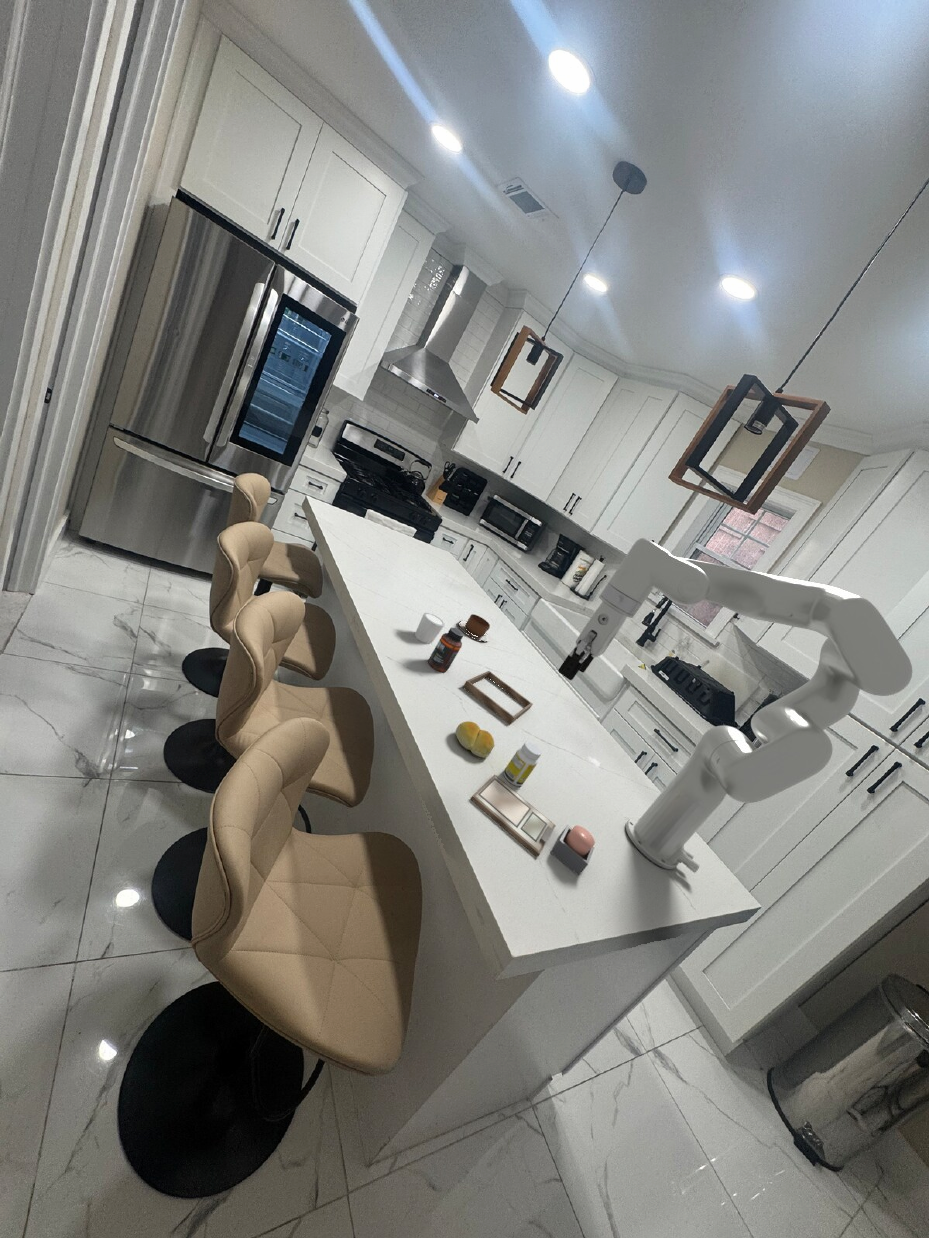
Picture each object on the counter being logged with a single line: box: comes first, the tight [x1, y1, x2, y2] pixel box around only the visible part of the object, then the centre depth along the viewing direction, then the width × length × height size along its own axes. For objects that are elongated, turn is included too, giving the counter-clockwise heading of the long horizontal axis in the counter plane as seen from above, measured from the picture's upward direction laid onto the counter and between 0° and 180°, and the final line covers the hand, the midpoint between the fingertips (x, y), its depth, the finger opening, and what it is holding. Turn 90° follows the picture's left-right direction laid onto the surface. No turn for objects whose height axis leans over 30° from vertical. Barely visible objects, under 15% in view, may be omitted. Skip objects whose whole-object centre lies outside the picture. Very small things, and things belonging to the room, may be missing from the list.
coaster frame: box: [462, 670, 534, 725], centre depth 136 cm, size 16×16×2 cm
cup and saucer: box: [458, 613, 491, 641], centre depth 170 cm, size 12×12×6 cm
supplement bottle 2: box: [503, 740, 542, 787], centre depth 104 cm, size 5×5×8 cm
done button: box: [565, 825, 596, 858], centre depth 91 cm, size 4×4×3 cm
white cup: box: [414, 612, 445, 645], centre depth 145 cm, size 7×7×7 cm
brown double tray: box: [470, 773, 557, 858], centre depth 94 cm, size 15×11×2 cm
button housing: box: [550, 825, 595, 877], centre depth 92 cm, size 6×6×3 cm
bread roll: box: [455, 720, 496, 759], centre depth 107 cm, size 8×9×4 cm
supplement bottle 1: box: [428, 627, 465, 673], centre depth 133 cm, size 6×6×11 cm
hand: (571, 672), depth 101 cm, fingers open, 9 cm apart
